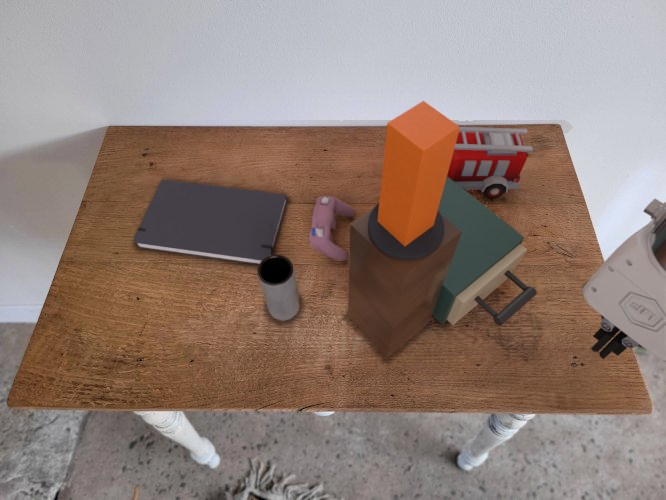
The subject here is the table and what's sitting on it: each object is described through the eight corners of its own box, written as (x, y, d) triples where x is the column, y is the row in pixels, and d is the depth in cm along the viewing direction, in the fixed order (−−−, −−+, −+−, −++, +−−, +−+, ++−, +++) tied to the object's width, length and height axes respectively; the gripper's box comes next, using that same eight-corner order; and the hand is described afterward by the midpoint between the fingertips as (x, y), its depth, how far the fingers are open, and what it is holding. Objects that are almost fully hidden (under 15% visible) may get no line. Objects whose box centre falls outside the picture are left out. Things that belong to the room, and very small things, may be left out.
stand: (429, 323, 67) (462, 231, 48) (386, 358, 64) (404, 276, 46) (389, 284, 70) (406, 185, 52) (347, 316, 68) (349, 223, 49)
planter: (304, 314, 68) (298, 278, 59) (273, 325, 67) (262, 290, 59) (294, 288, 70) (287, 249, 62) (264, 297, 69) (253, 260, 61)
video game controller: (332, 215, 79) (311, 189, 74) (357, 210, 77) (337, 183, 72) (323, 267, 74) (299, 242, 69) (349, 263, 72) (327, 237, 67)
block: (433, 225, 48) (460, 126, 37) (404, 247, 47) (423, 151, 36) (405, 201, 50) (423, 100, 39) (377, 221, 49) (387, 122, 38)
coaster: (459, 231, 48) (460, 228, 48) (404, 273, 46) (405, 270, 45) (406, 187, 52) (407, 183, 51) (352, 224, 49) (352, 220, 49)
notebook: (287, 200, 79) (164, 185, 81) (286, 194, 78) (161, 179, 80) (268, 266, 72) (135, 247, 75) (267, 260, 71) (131, 241, 73)
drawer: (538, 297, 68) (556, 272, 62) (479, 350, 64) (492, 330, 58) (443, 217, 76) (452, 189, 70) (385, 260, 72) (389, 234, 66)
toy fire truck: (398, 159, 84) (404, 114, 75) (507, 158, 83) (525, 113, 75) (402, 200, 79) (409, 157, 70) (518, 199, 78) (539, 155, 70)
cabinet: (506, 270, 71) (525, 237, 64) (442, 324, 67) (454, 295, 60) (435, 210, 78) (444, 173, 70) (371, 256, 73) (374, 222, 66)
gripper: (594, 215, 40) (526, 318, 54) (789, 345, 33) (649, 423, 48) (644, 172, 42) (566, 282, 57) (834, 284, 35) (688, 375, 50)
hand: (604, 346), depth 52 cm, fingers closed
